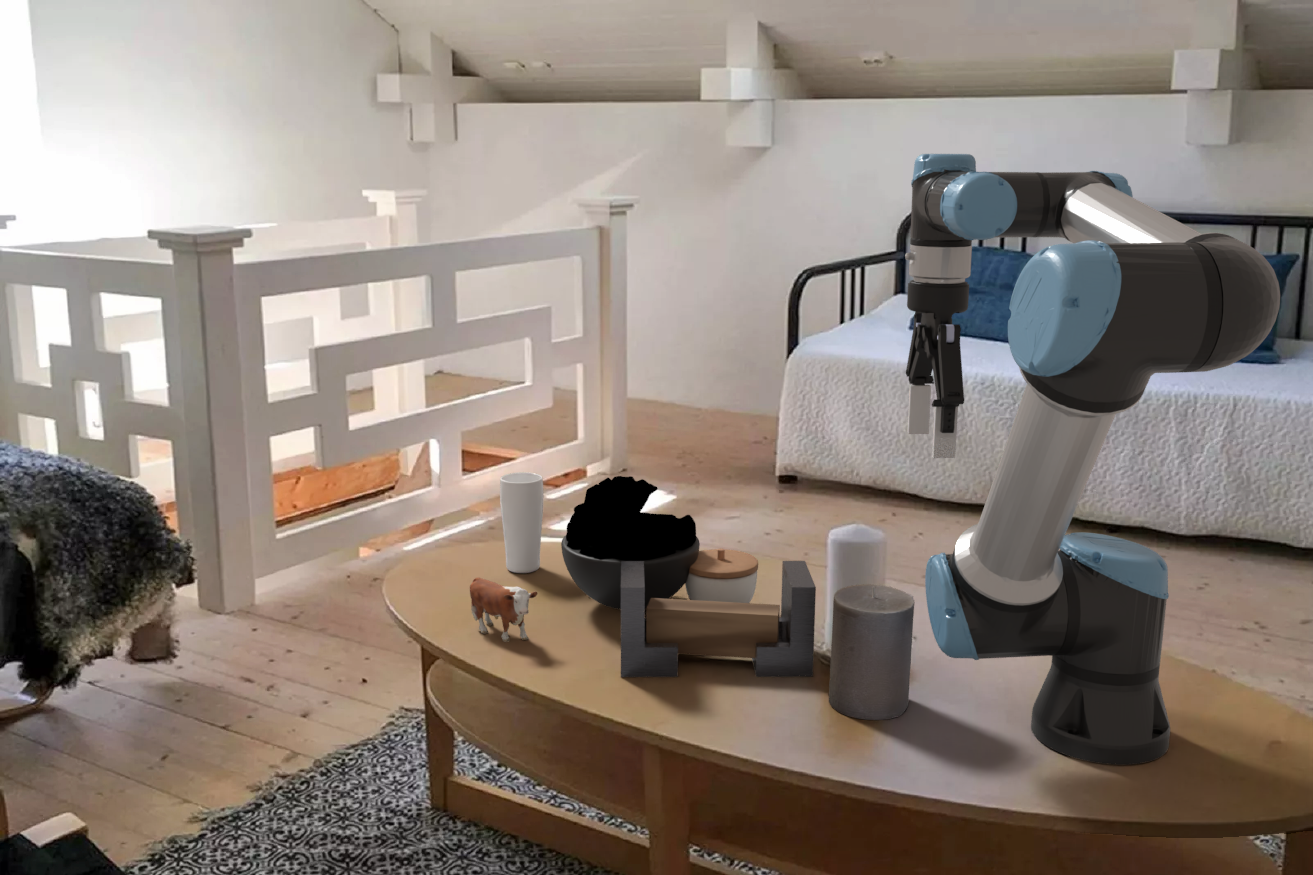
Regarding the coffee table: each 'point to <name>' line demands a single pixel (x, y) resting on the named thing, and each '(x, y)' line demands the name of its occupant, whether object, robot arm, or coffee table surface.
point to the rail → (712, 626)
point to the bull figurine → (499, 605)
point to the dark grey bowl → (627, 542)
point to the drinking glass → (522, 520)
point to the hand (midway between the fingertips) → (930, 445)
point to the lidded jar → (722, 576)
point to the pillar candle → (871, 651)
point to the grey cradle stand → (769, 657)
